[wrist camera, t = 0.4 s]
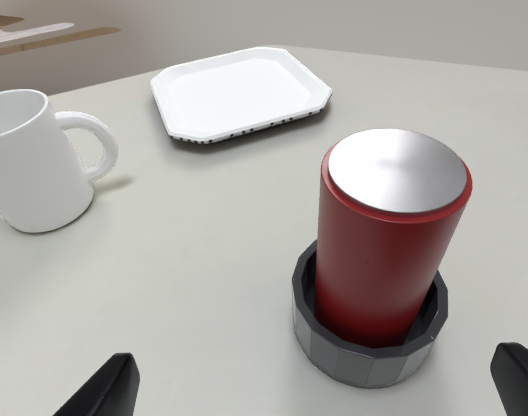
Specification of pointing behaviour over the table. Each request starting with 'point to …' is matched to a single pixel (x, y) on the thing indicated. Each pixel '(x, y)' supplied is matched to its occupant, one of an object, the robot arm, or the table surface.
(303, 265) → the bowl
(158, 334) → the table surface
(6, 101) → the mug
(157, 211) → the table surface
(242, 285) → the table surface
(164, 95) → the plate
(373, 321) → the can
